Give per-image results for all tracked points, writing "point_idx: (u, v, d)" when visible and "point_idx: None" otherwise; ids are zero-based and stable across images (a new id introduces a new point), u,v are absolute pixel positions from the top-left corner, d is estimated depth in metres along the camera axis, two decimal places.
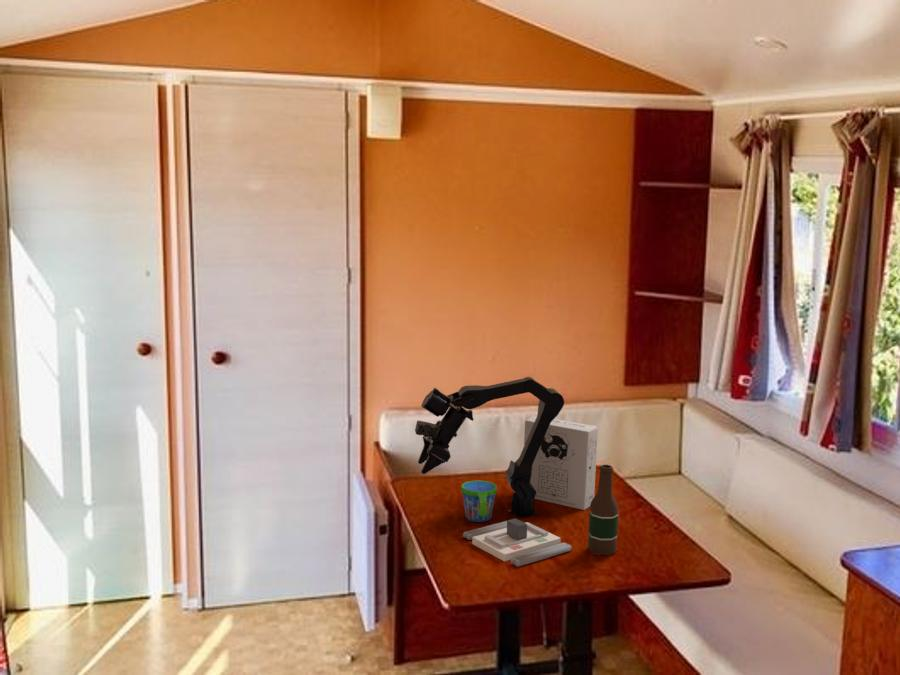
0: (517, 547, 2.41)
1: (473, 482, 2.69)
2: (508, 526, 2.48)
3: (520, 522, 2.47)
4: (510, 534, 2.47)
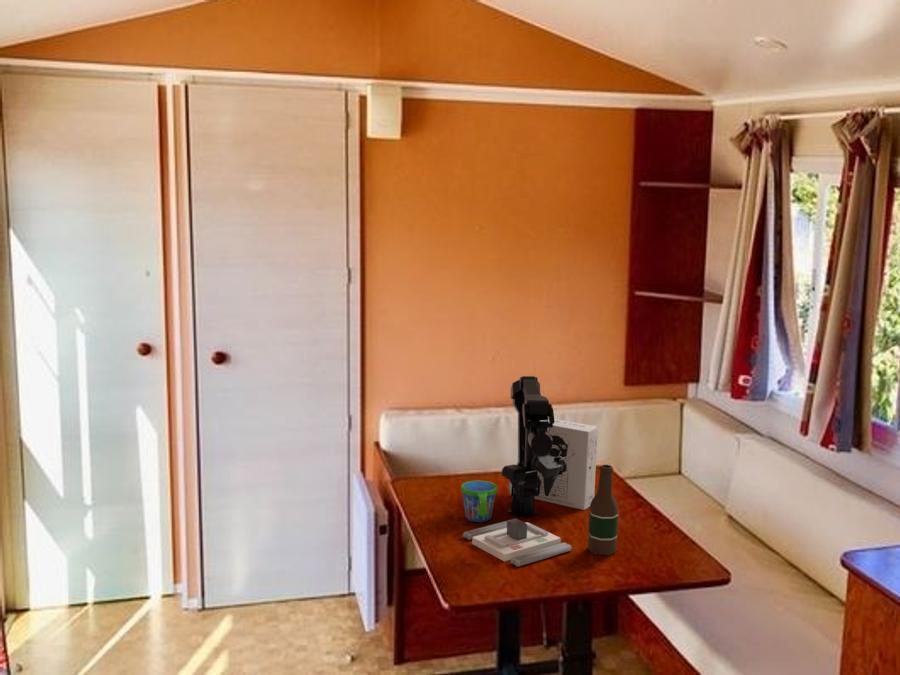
0: (517, 547, 2.41)
1: (473, 482, 2.69)
2: (508, 526, 2.48)
3: (520, 522, 2.47)
4: (510, 534, 2.47)
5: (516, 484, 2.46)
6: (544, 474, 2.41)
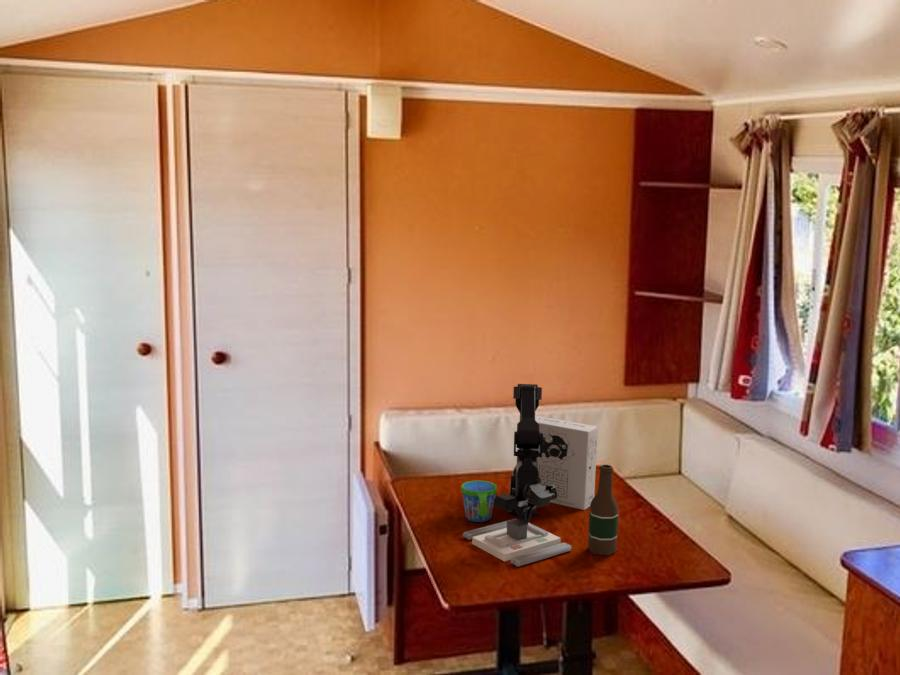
0: (517, 547, 2.41)
1: (473, 482, 2.69)
2: (508, 526, 2.48)
3: (520, 522, 2.47)
4: (510, 534, 2.47)
5: (520, 510, 2.48)
6: (536, 503, 2.40)
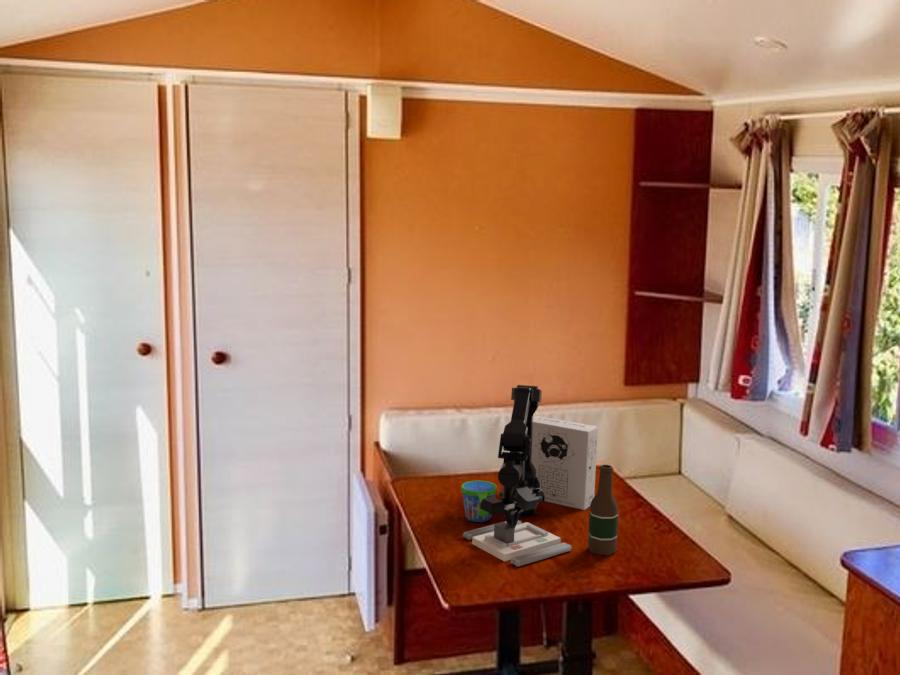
0: (517, 547, 2.41)
1: (473, 482, 2.69)
2: (495, 529, 2.45)
3: (508, 525, 2.44)
4: (497, 538, 2.45)
5: (507, 513, 2.45)
6: (523, 507, 2.37)
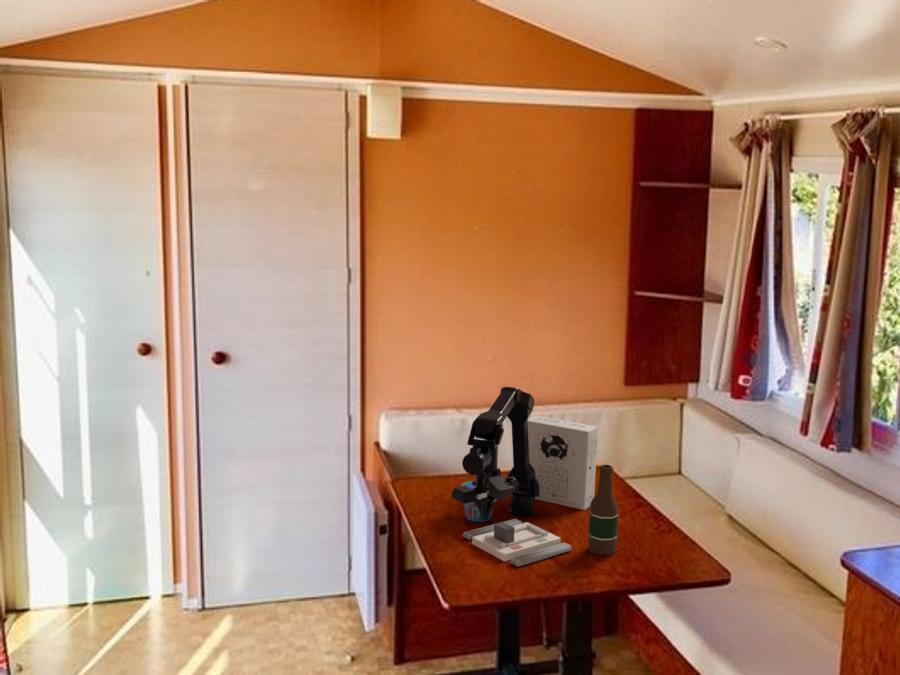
0: (517, 547, 2.41)
1: None
2: (495, 529, 2.45)
3: (508, 525, 2.44)
4: (497, 538, 2.45)
5: (480, 503, 2.39)
6: (495, 496, 2.31)
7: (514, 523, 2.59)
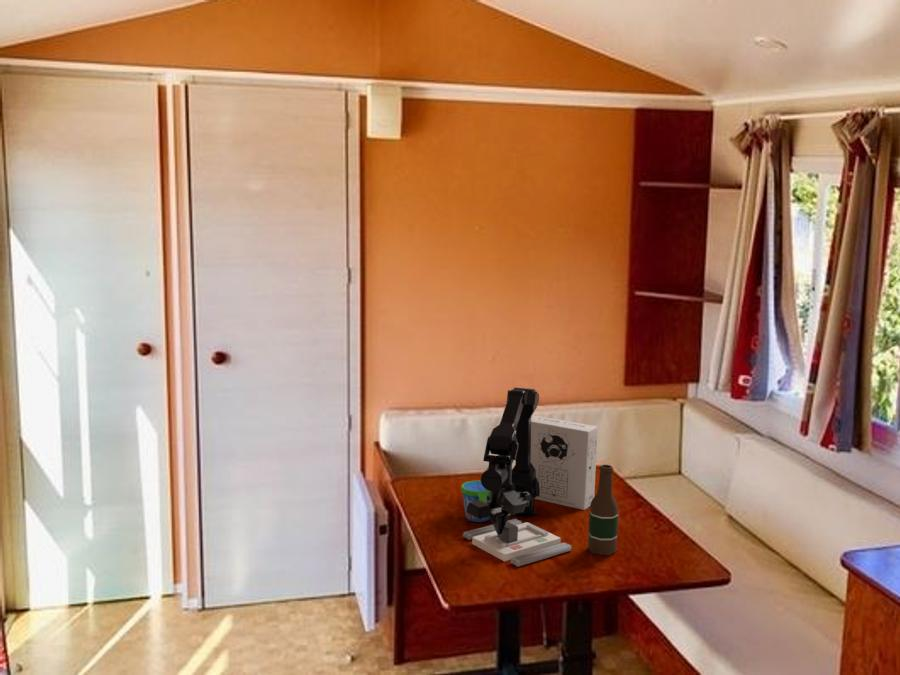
0: (517, 547, 2.41)
1: (473, 482, 2.69)
2: None
3: (511, 524, 2.45)
4: (501, 537, 2.45)
5: (494, 517, 2.43)
6: (510, 511, 2.35)
7: (514, 523, 2.59)
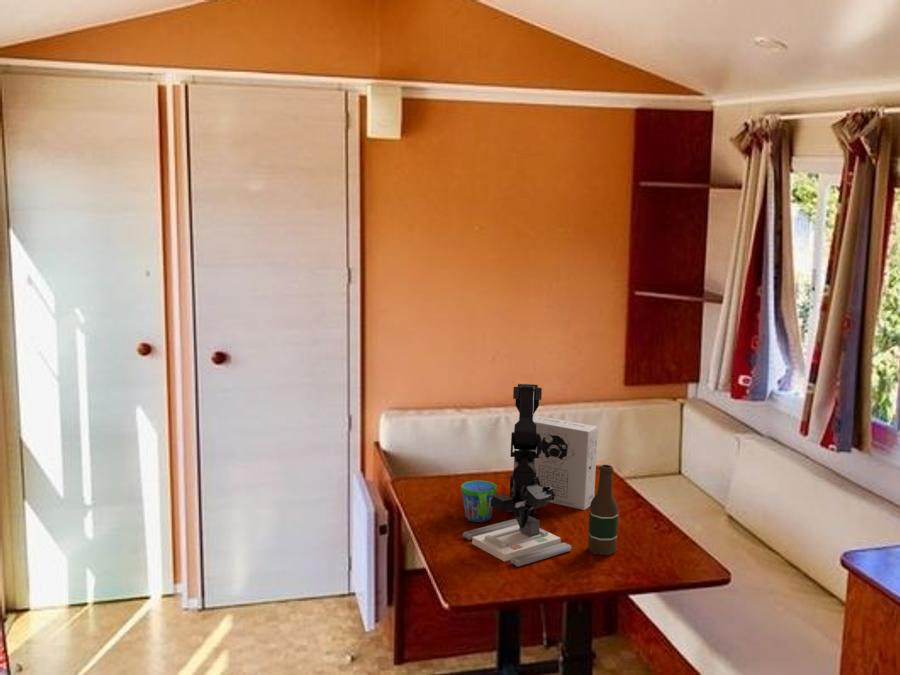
0: (517, 547, 2.41)
1: (473, 482, 2.69)
2: None
3: (533, 518, 2.50)
4: (523, 531, 2.50)
5: (517, 511, 2.47)
6: (533, 504, 2.40)
7: (514, 523, 2.59)
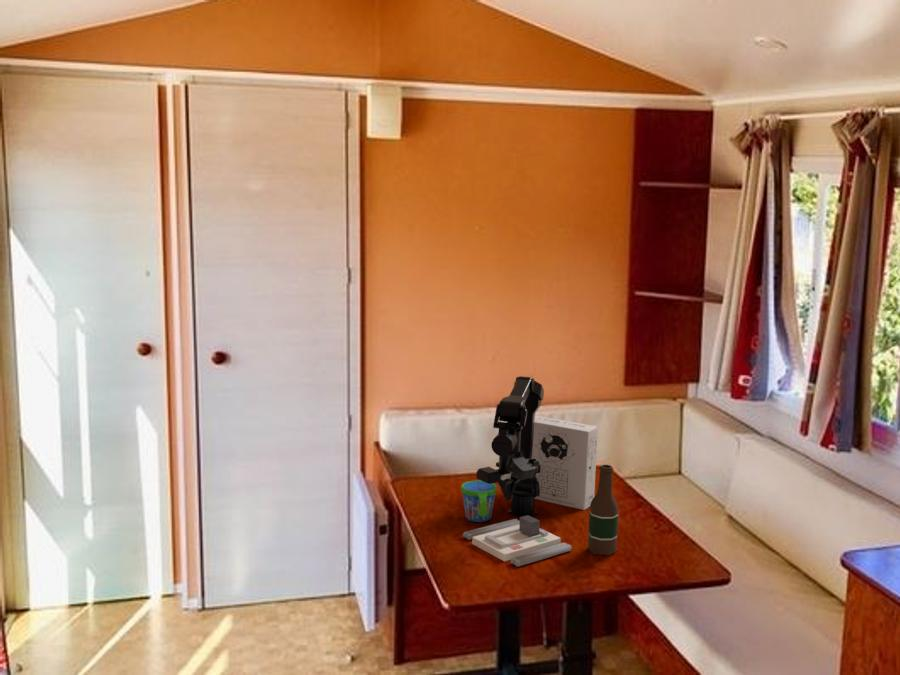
0: (517, 547, 2.41)
1: (473, 482, 2.69)
2: (521, 522, 2.50)
3: (533, 518, 2.50)
4: (523, 531, 2.50)
5: (503, 484, 2.47)
6: (519, 476, 2.39)
7: (514, 523, 2.59)
